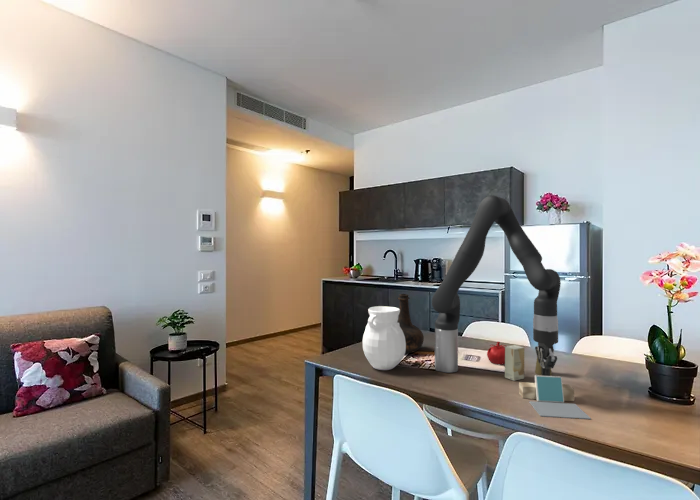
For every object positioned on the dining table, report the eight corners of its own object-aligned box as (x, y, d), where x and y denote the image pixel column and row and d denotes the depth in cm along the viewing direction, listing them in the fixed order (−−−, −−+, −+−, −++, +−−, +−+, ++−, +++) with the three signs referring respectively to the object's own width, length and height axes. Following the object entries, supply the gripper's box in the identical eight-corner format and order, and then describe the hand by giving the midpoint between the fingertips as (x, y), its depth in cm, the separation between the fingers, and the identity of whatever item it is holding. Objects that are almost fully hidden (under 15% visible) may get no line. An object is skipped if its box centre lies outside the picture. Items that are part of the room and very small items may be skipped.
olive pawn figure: (554, 376, 140) (554, 348, 140) (537, 375, 142) (537, 347, 142) (548, 371, 146) (548, 344, 146) (532, 370, 148) (532, 343, 147)
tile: (538, 402, 117) (538, 378, 117) (534, 397, 121) (534, 374, 121) (564, 403, 116) (564, 379, 116) (559, 399, 120) (559, 375, 119)
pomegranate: (515, 363, 157) (516, 342, 156) (502, 367, 151) (502, 346, 151) (495, 357, 165) (495, 337, 165) (482, 361, 159) (482, 340, 159)
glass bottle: (430, 350, 177) (430, 293, 177) (410, 358, 164) (409, 297, 164) (400, 343, 189) (400, 291, 189) (379, 350, 176) (379, 294, 176)
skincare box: (513, 381, 136) (513, 349, 135) (504, 377, 139) (504, 346, 139) (525, 378, 138) (525, 347, 138) (515, 374, 142) (515, 344, 142)
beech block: (522, 398, 120) (522, 386, 120) (519, 393, 124) (519, 382, 124) (574, 401, 118) (574, 389, 118) (568, 396, 122) (568, 384, 122)
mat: (540, 416, 108) (540, 415, 108) (528, 402, 117) (528, 401, 117) (591, 419, 106) (591, 418, 106) (574, 404, 115) (574, 403, 115)
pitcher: (385, 377, 140) (384, 314, 140) (353, 366, 154) (353, 308, 154) (415, 366, 153) (414, 308, 152) (383, 357, 166) (383, 303, 166)
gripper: (527, 323, 129) (527, 371, 129) (541, 332, 116) (541, 385, 116) (549, 323, 128) (549, 372, 128) (566, 332, 115) (566, 386, 115)
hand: (545, 378), depth 122 cm, fingers closed
